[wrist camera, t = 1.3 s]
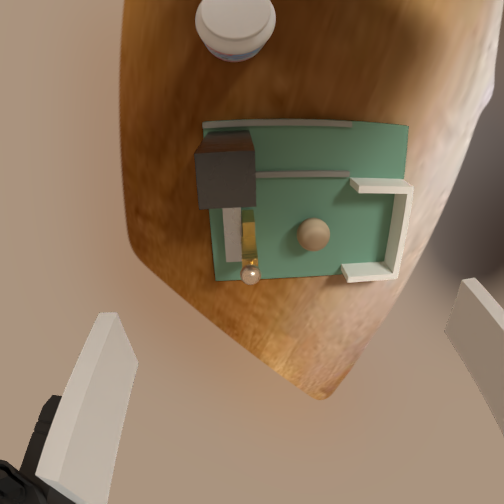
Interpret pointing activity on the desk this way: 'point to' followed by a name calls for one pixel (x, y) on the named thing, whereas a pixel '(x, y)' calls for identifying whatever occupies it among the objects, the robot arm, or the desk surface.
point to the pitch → (314, 193)
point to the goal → (396, 232)
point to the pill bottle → (235, 27)
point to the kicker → (231, 193)
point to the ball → (313, 234)
